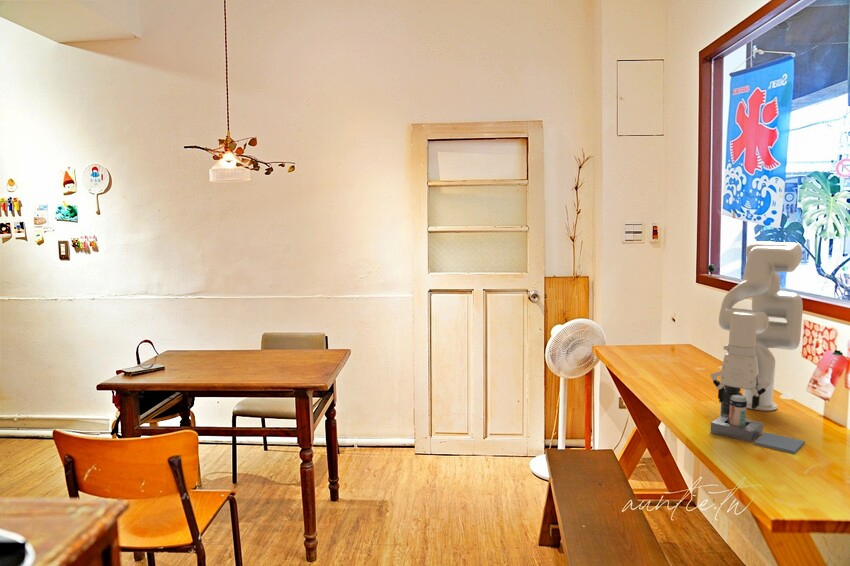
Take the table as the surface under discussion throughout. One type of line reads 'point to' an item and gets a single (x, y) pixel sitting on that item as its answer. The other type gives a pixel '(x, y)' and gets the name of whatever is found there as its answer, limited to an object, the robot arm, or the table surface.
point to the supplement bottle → (728, 399)
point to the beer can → (738, 410)
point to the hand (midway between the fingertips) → (737, 404)
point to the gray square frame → (736, 429)
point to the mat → (779, 442)
